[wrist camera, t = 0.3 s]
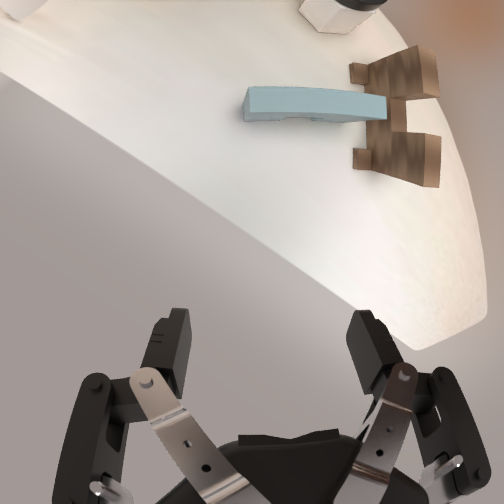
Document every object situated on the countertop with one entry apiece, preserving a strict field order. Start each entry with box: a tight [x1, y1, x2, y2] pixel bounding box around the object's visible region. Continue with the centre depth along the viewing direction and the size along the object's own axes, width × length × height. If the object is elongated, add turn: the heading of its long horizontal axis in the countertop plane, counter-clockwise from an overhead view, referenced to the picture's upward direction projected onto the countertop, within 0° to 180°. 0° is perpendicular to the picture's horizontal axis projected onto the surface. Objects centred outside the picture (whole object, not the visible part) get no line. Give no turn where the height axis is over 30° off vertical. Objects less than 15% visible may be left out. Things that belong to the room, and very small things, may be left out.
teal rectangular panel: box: [243, 87, 387, 123], centre depth 28 cm, size 14×2×12 cm, turn 93°
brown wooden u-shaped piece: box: [349, 45, 441, 188], centre depth 28 cm, size 16×7×14 cm, turn 3°
